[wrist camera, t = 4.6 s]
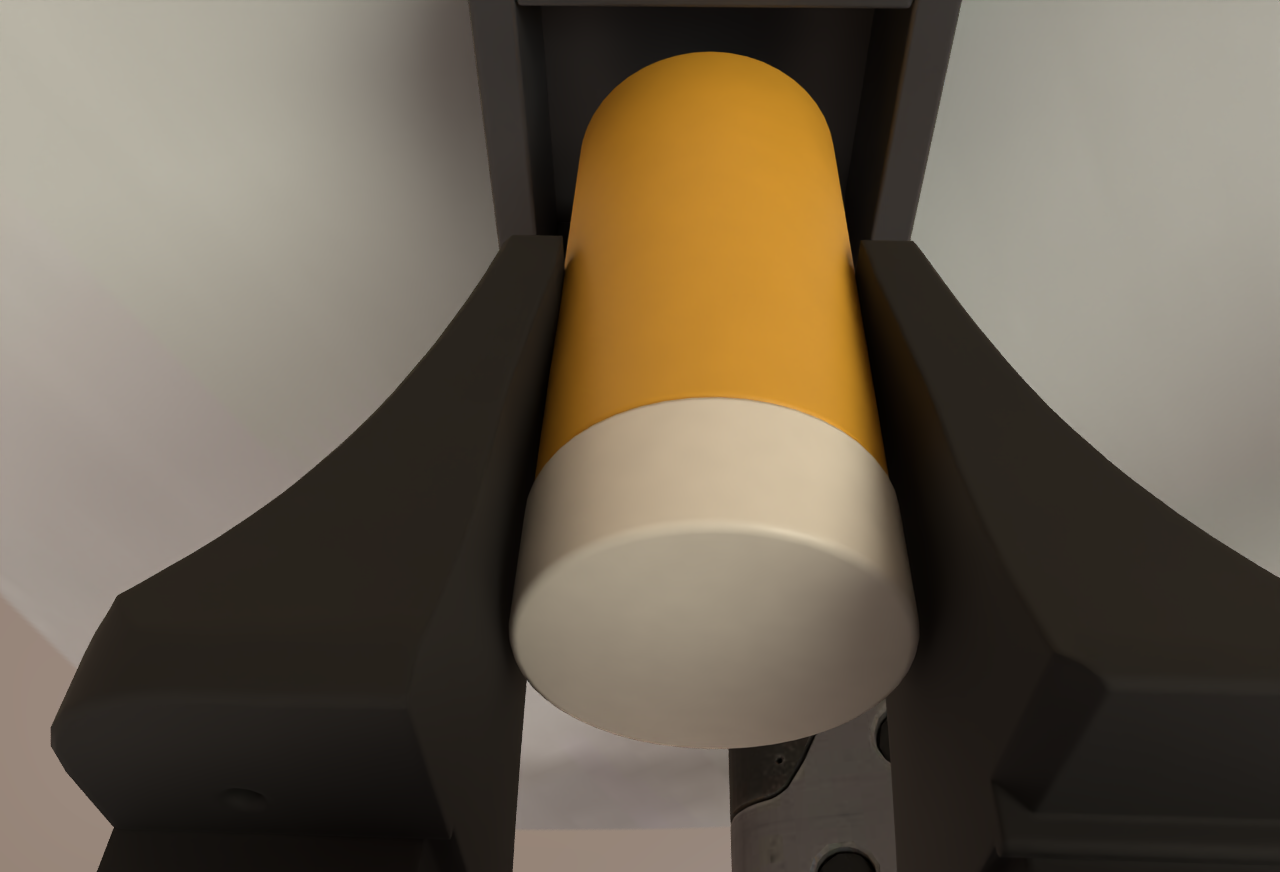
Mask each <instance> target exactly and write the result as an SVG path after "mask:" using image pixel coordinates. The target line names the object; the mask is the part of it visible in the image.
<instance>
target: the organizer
mask: <svg viewBox="0 0 1280 872" xmlns="http://www.w3.org/2000/svg"><path fill="white" fill-rule="evenodd" d="M961 2H962V0H468V4H469V12H470V20H471V28H472V36H473V44H474V52H475V60H476V68H477V76H478V84H479V92H480V100H481V108H482V115H483V123H484V131H485V139H486V147H487V155H488V163H489V171H490V179H491V187H492V195H493V203H494V211H495V219H496V227H497V235H498V243H499V250H500V248H501V246H502V245H503V243H504V242H505V241H506V240H507V239H508V238H509V237H511V236H512V235H545V236H563V249H564V263H565V259H566V252H567V245H568V238H569V230H570V223H571V216H572V209H573V202H574V195H575V188H576V181H577V173H578V166H579V159H580V153H581V147H582V141H583V138H584V135H585V132H586V129H587V127H588V125H589V123H590V121H591V119H592V117H593V115H594V113H595V112H596V110H597V109H598V107H599V106H600V104H601V103H602V102H603V100H604V99H605V98H606V97H607V96H608V95H609V94H610V93H611V92H612V90H613V89H614V88H616V87H617V86H618V85H619V84H620V83H622V82H623V81H624V80H625V79H627V78H628V77H629V76H631V75H633V74H634V73H636V72H638V71H639V70H641V69H642V68H644V67H646V66H649V65H651V64H653V63H655V62H657V61H660V60H663V59H666V58H670V57H673V56H676V55H682V54H687V53H693V52H725V53H732V54H737V55H742V56H747V57H750V58H753V59H756V60H759V61H762V62H764V63H766V64H768V65H770V66H772V67H774V68H776V69H778V70H780V71H781V72H783V73H784V74H786V75H787V76H789V77H790V78H792V79H793V80H794V81H796V82H797V83H798V84H799V85H800V86H801V87H802V88H803V89H804V90H805V91H806V92H807V93H808V94H809V95H810V96H811V98H812V99H813V100H814V101H815V103H816V104H817V106H818V107H819V109H820V111H821V112H822V114H823V116H824V118H825V120H826V122H827V125H828V127H829V130H830V133H831V137H832V142H833V146H834V152H835V158H836V164H837V170H838V176H839V182H840V188H841V194H842V200H843V206H844V212H845V218H846V223H847V229H848V235H849V241H850V247H851V253H852V259H853V265H854V271H855V272H856V267H857V261H858V255H859V250H860V244H861V240H881V241H910V239H911V234H912V230H913V225H914V220H915V216H916V211H917V207H918V202H919V197H920V193H921V188H922V183H923V179H924V174H925V169H926V165H927V160H928V155H929V151H930V146H931V141H932V137H933V132H934V128H935V123H936V118H937V114H938V109H939V104H940V100H941V95H942V90H943V86H944V81H945V76H946V72H947V67H948V63H949V58H950V53H951V49H952V44H953V39H954V35H955V30H956V25H957V21H958V16H959V11H960V7H961Z"/></svg>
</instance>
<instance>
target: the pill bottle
mask: <svg viewBox="0 0 1280 872" xmlns="http://www.w3.org/2000/svg"><path fill="white" fill-rule="evenodd" d="M508 626H509V641H510V645H511V648H512V651H513V655H514V658H515V661H516V663H517V665H518V666H519V668H520V670H521V672H522V674H523V675H524V677H525V678H526V679H527V680H528V682H529V683H530V684H531V686H532V687H533V688H534V689H535V690H536V691H537V692H538V693H540V694H541V695H542V696H543V697H544V698H545V699H546V700H548V701H549V702H550V703H552V704H553V705H554V706H556V707H557V708H559V709H560V710H562V711H563V712H565V713H567V714H569V715H571V716H572V717H574V718H576V719H578V720H580V721H582V722H584V723H587V724H589V725H591V726H593V727H596V728H598V729H601V730H604V731H607V732H610V733H613V734H616V735H619V736H623V737H627V738H631V739H634V740H639V741H644V742H649V743H654V744H659V745H667V746H675V747H685V748H701V749H730V748H746V747H756V746H764V745H772V744H777V743H782V742H787V741H792V740H797V739H801V738H804V737H808V736H812V735H815V734H818V733H821V732H824V731H827V730H829V729H832V728H835V727H837V726H840V725H842V724H844V723H846V722H848V721H850V720H853V719H855V718H857V717H858V716H860V715H862V714H863V713H865V712H867V711H868V710H870V709H872V708H873V707H874V706H876V705H877V704H878V703H880V702H881V701H882V700H884V699H885V698H886V697H887V696H888V695H889V694H890V693H891V692H892V691H893V690H894V689H895V688H896V687H897V686H898V685H899V684H900V683H901V681H902V680H903V678H904V677H905V676H906V674H907V673H908V671H909V669H910V667H911V664H912V662H913V660H914V658H915V655H916V651H917V647H918V642H919V637H920V634H919V618H918V612H917V606H916V600H915V595H914V589H913V583H912V577H911V571H910V566H909V560H908V554H907V548H906V542H905V537H904V531H903V525H902V519H901V513H900V507H899V503H898V500H897V496H896V492H895V489H894V487H893V485H892V483H891V481H890V479H889V474H888V468H887V462H886V456H885V450H884V444H883V438H882V432H881V426H880V421H879V415H878V409H877V403H876V397H875V391H874V385H873V379H872V373H871V367H870V361H869V355H868V349H867V343H866V337H865V332H864V326H863V320H862V314H861V308H860V302H859V296H858V290H857V284H856V278H855V271H854V265H853V259H852V253H851V247H850V241H849V235H848V229H847V223H846V218H845V212H844V206H843V200H842V194H841V188H840V182H839V176H838V170H837V164H836V158H835V152H834V146H833V142H832V137H831V133H830V130H829V127H828V125H827V122H826V120H825V118H824V116H823V114H822V112H821V111H820V109H819V107H818V106H817V104H816V103H815V101H814V100H813V99H812V98H811V96H810V95H809V94H808V93H807V92H806V91H805V90H804V89H803V88H802V87H801V86H800V85H799V84H798V83H797V82H796V81H794V80H793V79H792V78H790V77H789V76H787V75H786V74H784V73H783V72H781V71H780V70H778V69H776V68H774V67H772V66H770V65H768V64H766V63H764V62H762V61H759V60H756V59H753V58H750V57H747V56H742V55H737V54H732V53H725V52H693V53H687V54H682V55H676V56H673V57H670V58H666V59H663V60H660V61H657V62H655V63H653V64H651V65H649V66H646V67H644V68H642V69H641V70H639V71H638V72H636V73H634V74H633V75H631V76H629V77H628V78H627V79H625V80H624V81H623V82H622V83H620V84H619V85H618V86H617V87H616V88H614V89H613V90H612V92H611V93H610V94H609V95H608V96H607V97H606V98H605V99H604V100H603V102H602V103H601V104H600V106H599V107H598V109H597V110H596V112H595V113H594V115H593V117H592V119H591V121H590V123H589V125H588V127H587V129H586V132H585V135H584V138H583V141H582V147H581V153H580V159H579V166H578V173H577V181H576V188H575V195H574V202H573V209H572V216H571V223H570V230H569V238H568V245H567V252H566V259H565V274H564V281H563V288H562V296H561V303H560V310H559V318H558V325H557V330H556V335H555V341H554V348H553V354H552V361H551V367H550V374H549V381H548V387H547V395H546V402H545V409H544V416H543V423H542V430H541V437H540V444H539V452H538V459H537V466H536V473H535V480H534V483H533V485H532V488H531V490H530V493H529V495H528V498H527V503H526V509H525V515H524V522H523V529H522V535H521V542H520V549H519V556H518V563H517V570H516V577H515V584H514V591H513V598H512V605H511V612H510V618H509V625H508Z"/></svg>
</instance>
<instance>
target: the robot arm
mask: <svg viewBox="0 0 1280 872" xmlns="http://www.w3.org/2000/svg"><path fill="white" fill-rule="evenodd" d="M564 274H565V263H564V249H563V236H545V235H512V236H511V237H509V238H508V239H507V240H506V241H505V242H504V243H503V245H502V246H501V248H500V250H499V252H498V253H497V255H496V257H495V258H494V260H493V261H492V263H491V265H490V266H489V268H488V269H487V271H486V273H485V274H484V276H483V277H482V279H481V280H480V282H479V283H478V285H477V286H476V288H475V289H474V291H473V292H472V294H471V295H470V296H469V298H468V299H467V301H466V302H465V304H464V305H463V307H462V308H461V309H460V311H459V312H458V313H457V315H456V316H455V317H454V319H453V320H452V321H451V323H450V324H449V325H448V327H447V328H446V329H445V331H444V332H443V333H442V335H441V336H440V337H439V339H438V340H437V341H436V343H435V344H434V345H433V346H432V348H431V349H430V350H429V351H428V352H427V354H426V355H425V356H424V357H423V358H422V360H421V361H420V362H419V363H418V364H417V365H416V367H415V368H414V369H413V370H412V371H411V372H410V374H409V375H408V376H407V377H406V378H405V379H404V381H403V382H402V383H401V384H400V385H399V386H398V388H397V389H396V390H395V391H394V392H393V393H392V394H391V395H390V396H389V397H388V398H387V399H386V401H385V402H384V403H383V404H382V405H381V406H380V407H379V408H378V409H377V410H376V411H375V412H374V413H373V414H372V415H371V416H370V417H369V418H368V419H367V420H366V421H365V422H364V423H363V424H362V425H361V426H360V427H359V428H358V429H357V430H356V431H355V432H354V433H352V434H351V435H350V436H349V437H348V438H347V439H346V440H345V441H344V442H343V443H342V444H341V445H340V446H338V447H337V448H336V449H335V450H334V451H333V452H331V453H330V454H329V455H328V456H327V457H326V458H324V459H323V460H322V461H321V462H320V463H319V464H318V465H316V466H315V467H314V468H313V469H312V470H311V471H309V472H308V473H307V474H306V475H305V476H303V477H302V478H301V479H300V480H298V481H297V482H296V483H295V484H293V485H292V486H291V487H290V488H288V489H287V490H286V491H285V492H283V493H282V494H281V495H279V496H278V497H277V498H275V499H274V500H272V501H271V502H270V503H268V504H267V505H265V506H264V507H263V508H261V509H260V510H258V511H257V512H255V513H254V514H253V515H251V516H250V517H248V518H247V519H245V520H244V521H242V522H241V523H239V524H238V525H236V526H235V527H233V528H232V529H230V530H229V531H227V532H226V533H224V534H223V535H221V536H220V537H218V538H217V539H215V540H213V541H212V542H210V543H209V544H207V545H205V546H204V547H202V548H201V549H199V550H197V551H196V552H194V553H192V554H190V555H189V556H187V557H185V558H183V559H182V560H180V561H178V562H176V563H175V564H173V565H171V566H169V567H168V568H166V569H164V570H162V571H161V572H159V573H157V574H155V575H154V576H152V577H150V578H148V579H147V580H145V581H143V582H141V583H140V584H138V585H136V586H134V587H132V588H130V589H129V590H127V591H125V592H123V593H121V594H119V595H118V596H117V597H116V599H115V601H114V602H113V604H112V606H111V608H110V610H109V611H108V613H107V615H106V616H105V618H104V619H103V621H102V623H101V624H100V626H99V627H98V629H97V631H96V632H95V634H94V636H93V638H92V640H91V642H90V644H89V646H88V648H87V650H86V652H85V654H84V656H83V658H82V660H81V662H80V665H79V667H78V669H77V671H76V673H75V676H74V678H73V680H72V682H71V684H70V687H69V689H68V691H67V693H66V695H65V697H64V700H63V702H62V704H61V706H60V709H59V711H58V713H57V715H56V717H55V720H54V722H53V724H52V726H51V747H52V749H53V750H54V752H55V754H56V755H57V757H58V759H59V760H60V762H61V764H62V766H63V767H64V769H65V771H66V772H67V773H68V775H69V776H70V777H71V778H72V779H73V780H74V781H75V783H76V784H77V785H78V786H79V787H80V789H81V790H82V791H83V792H84V793H85V794H86V796H87V797H88V798H89V799H90V800H91V801H92V802H93V803H94V805H95V806H96V807H97V808H98V809H99V811H100V812H101V813H102V814H103V815H104V816H105V817H106V819H107V820H108V821H109V822H110V823H111V825H112V826H113V827H114V829H113V831H112V834H111V837H110V839H109V842H108V844H107V847H106V849H105V852H104V855H103V857H102V860H101V862H100V865H99V868H98V870H97V872H513V870H512V869H513V856H514V839H515V824H516V811H517V797H518V783H519V769H520V755H521V743H522V730H523V718H524V706H525V694H526V682H527V679H526V678H525V677H524V675H523V674H522V672H521V670H520V668H519V666H518V665H517V663H516V661H515V658H514V655H513V651H512V648H511V645H510V641H509V626H508V625H509V618H510V612H511V605H512V598H513V591H514V584H515V577H516V570H517V563H518V556H519V549H520V542H521V535H522V529H523V522H524V515H525V509H526V503H527V498H528V495H529V493H530V490H531V488H532V485H533V483H534V480H535V473H536V466H537V459H538V452H539V444H540V437H541V430H542V423H543V416H544V409H545V402H546V395H547V387H548V381H549V374H550V367H551V361H552V354H553V348H554V341H555V335H556V330H557V325H558V318H559V310H560V303H561V296H562V288H563V281H564ZM855 278H856V284H857V290H858V296H859V302H860V308H861V314H862V320H863V326H864V332H865V337H866V343H867V349H868V355H869V361H870V367H871V373H872V379H873V385H874V391H875V397H876V403H877V409H878V415H879V421H880V426H881V432H882V438H883V444H884V450H885V456H886V462H887V468H888V474H889V479H890V481H891V483H892V485H893V487H894V489H895V492H896V496H897V500H898V503H899V507H900V513H901V519H902V525H903V531H904V537H905V542H906V548H907V554H908V560H909V566H910V571H911V577H912V583H913V589H914V595H915V600H916V606H917V612H918V618H919V634H920V637H919V642H918V647H917V651H916V655H915V658H914V660H913V662H912V664H911V667H910V669H909V671H908V673H907V674H906V676H905V677H904V678H903V680H902V681H901V683H900V684H899V685H898V686H897V687H896V688H895V689H894V690H893V691H892V692H891V693H890V694H889V695H888V696H887V697H886V709H887V722H888V735H889V748H890V761H891V777H892V793H893V809H894V825H895V842H896V863H897V872H1280V578H1279V577H1277V576H1275V575H1273V574H1272V573H1270V572H1268V571H1267V570H1265V569H1263V568H1262V567H1260V566H1258V565H1257V564H1255V563H1253V562H1252V561H1250V560H1249V559H1247V558H1245V557H1244V556H1242V555H1241V554H1239V553H1237V552H1236V551H1234V550H1233V549H1231V548H1229V547H1228V546H1226V545H1225V544H1223V543H1221V542H1220V541H1218V540H1217V539H1215V538H1213V537H1212V536H1210V535H1209V534H1207V533H1206V532H1205V531H1203V530H1202V529H1200V528H1199V527H1197V526H1196V525H1194V524H1193V523H1191V522H1190V521H1188V520H1187V519H1185V518H1184V517H1182V516H1181V515H1179V514H1178V513H1177V512H1175V511H1174V510H1173V509H1171V508H1170V507H1169V506H1167V505H1166V504H1164V503H1163V502H1162V501H1160V500H1159V499H1158V498H1156V497H1155V496H1154V495H1152V494H1151V493H1150V492H1148V491H1147V490H1146V489H1144V488H1143V487H1142V486H1140V485H1139V484H1138V483H1136V482H1135V481H1133V480H1132V479H1131V478H1130V477H1128V476H1127V475H1126V474H1125V473H1123V472H1122V471H1121V470H1120V469H1118V468H1117V467H1116V466H1115V465H1113V464H1112V463H1111V462H1110V461H1109V460H1107V459H1106V458H1105V457H1104V456H1103V455H1102V454H1101V453H1099V452H1098V451H1097V450H1096V449H1095V448H1094V447H1093V446H1091V445H1090V444H1089V443H1088V442H1087V441H1086V440H1085V439H1084V438H1082V437H1081V436H1080V435H1079V434H1078V433H1077V432H1076V431H1074V430H1073V429H1072V428H1071V427H1070V426H1069V425H1068V424H1067V423H1066V422H1065V421H1064V420H1062V419H1061V418H1060V417H1059V416H1058V415H1057V414H1056V413H1055V412H1054V411H1053V410H1052V409H1051V408H1050V407H1049V406H1048V405H1047V404H1046V403H1045V402H1044V401H1043V400H1042V399H1041V398H1040V397H1039V396H1038V395H1037V393H1036V392H1035V391H1034V390H1033V389H1032V388H1031V387H1030V386H1029V385H1028V384H1027V383H1026V382H1025V381H1024V380H1023V379H1022V377H1021V376H1020V375H1019V374H1018V373H1017V372H1016V371H1015V370H1014V369H1013V367H1012V366H1011V365H1010V364H1009V363H1008V362H1007V361H1006V359H1005V358H1004V357H1003V356H1002V355H1001V353H1000V352H999V351H998V350H997V349H996V347H995V346H994V345H993V344H992V343H991V341H990V340H989V339H988V338H987V337H986V335H985V334H984V333H983V332H982V331H981V329H980V328H979V327H978V326H977V324H976V323H975V322H974V321H973V319H972V318H971V317H970V316H969V314H968V313H967V312H966V310H965V309H964V308H963V307H962V305H961V304H960V303H959V301H958V300H957V299H956V297H955V296H954V295H953V293H952V292H951V291H950V289H949V288H948V287H947V285H946V284H945V283H944V281H943V280H942V279H941V277H940V276H939V274H938V273H937V272H936V270H935V269H934V268H933V266H932V265H931V263H930V262H929V261H928V259H927V258H926V257H925V255H924V254H923V253H922V251H921V250H920V249H919V247H918V246H917V245H916V244H915V243H914V242H913V241H881V240H861V244H860V250H859V255H858V261H857V267H856V272H855Z"/></svg>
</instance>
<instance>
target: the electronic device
mask: <svg viewBox="0 0 1280 872" xmlns="http://www.w3.org/2000/svg"><path fill="white" fill-rule="evenodd" d="M729 784H730V819H731V857H732V872H897V863H896V842H895V825H894V809H893V793H892V777H891V761H890V748H889V735H888V722H887V709H886V698H885V699H884V700H882V701H881V702H880V703H878V704H877V705H876V706H874V707H873V708H872V709H870V710H868V711H867V712H865V713H863V714H862V715H860V716H858V717H857V718H855V719H853V720H850V721H848V722H846V723H844V724H842V725H840V726H837V727H835V728H832V729H829V730H827V731H824V732H821V733H818V734H815V735H812V736H808V737H804V738H801V739H797V740H792V741H787V742H782V743H777V744H772V745H764V746H756V747H746V748H730V749H729Z"/></svg>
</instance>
